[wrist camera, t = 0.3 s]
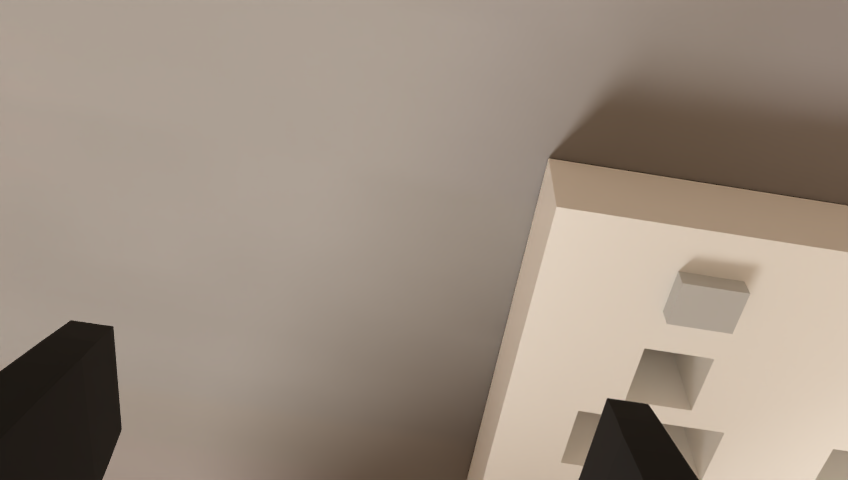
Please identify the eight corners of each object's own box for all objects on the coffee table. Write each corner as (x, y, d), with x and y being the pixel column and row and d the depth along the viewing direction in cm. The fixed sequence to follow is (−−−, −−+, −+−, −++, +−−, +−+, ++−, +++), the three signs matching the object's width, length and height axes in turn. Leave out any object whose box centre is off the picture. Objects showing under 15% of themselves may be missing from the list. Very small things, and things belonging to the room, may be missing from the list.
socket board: (905, 543, 27) (949, 627, 25) (466, 479, 27) (465, 557, 24) (1118, 248, 21) (1208, 319, 18) (548, 158, 20) (558, 217, 18)
